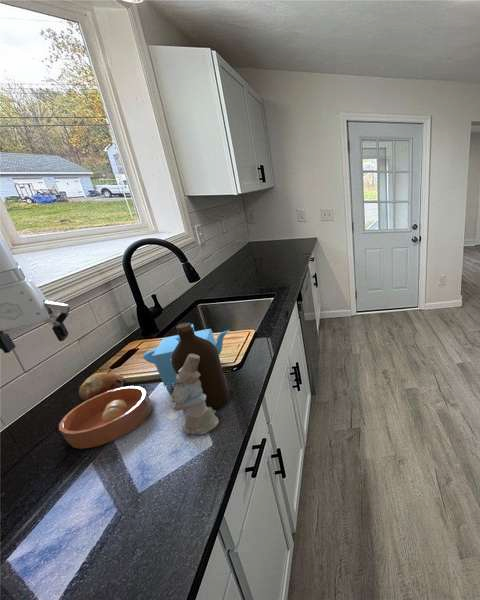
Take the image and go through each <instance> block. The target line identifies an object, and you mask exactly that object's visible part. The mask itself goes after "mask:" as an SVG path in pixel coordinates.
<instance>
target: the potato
mask: <svg viewBox="0 0 480 600" xmlns="http://www.w3.org/2000/svg"><path fill="white" fill-rule="evenodd" d="M127 407H128V406H127V403H126V402H125V401H123V400H114V401H112V402H110V403H109V404H108V405H107V406H106V408H105V410H104V412H103V414H102V417H101V419H102V421H103V423H105V424H106V423H108V422H110V421H112V420H115V419H116V418H118V417H120V416H121V415H123V414H125V413H126V411H127Z"/></svg>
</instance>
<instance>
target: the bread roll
mask: <svg viewBox="0 0 480 600" xmlns="http://www.w3.org/2000/svg"><path fill="white" fill-rule="evenodd" d="M124 377H125V376H123V375H120V374H119V373H118V374H117V373H114V372H96V373H94V374H92V375H90V376H89V377H87V378H86V379H85V380H84V381H83V382H82V383H81V385H80V386H79V389H78V395H79V398H80V399H81V400H82V401H83V402H85V401H87V400H89V399H91V398H93V397H95V396H97V395H100V394H102V393H105V392H107V391H111V390H114V389H118V388H122V387H124V384H125V383H126V380H123V379H124Z"/></svg>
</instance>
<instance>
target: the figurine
mask: <svg viewBox="0 0 480 600" xmlns="http://www.w3.org/2000/svg"><path fill="white" fill-rule="evenodd" d="M199 360H200V356H198V355H196V354H189V355H188V356H187V359H186V361H185V363H184V365H183V367H182V368H181V369H180V370H179V371H178V373H179V374H177V377H176V381H177V382H178V383H183V384H179V385H177V386H176V385H175V388H174V389H173V391H172V393H171V399H170V402H171V403H172V404H173V407H172V409H173V410H174V411H176V412H179V411H181V412H182V415H183V416H185V423H184V426H183V430H182V432H184V433H185V434H186V435H198V436H199V435H203V434H206V433H208V432H211V431H212V430H214V429H215V428H216V427H217V426H218V424H219V421H220V420H219V418H218V417H217V416H216V415H215V414H216V413H217V411H216V410H212V408H211V407H207V406H206V403H205V401H206V395H205V394H204V393H202V392H203V389H202V388H201V381H200V380H199V379H198V378H199V377H200V373H199V372H198V371H197V368H198V364H199Z"/></svg>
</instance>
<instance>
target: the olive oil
mask: <svg viewBox="0 0 480 600" xmlns="http://www.w3.org/2000/svg"><path fill="white" fill-rule="evenodd" d="M191 324H192V323H191V322H181V323H179V324H177V326H176V331H177V335H179V337H180V342H179V343H178V345H177V346H176V348H175V349H174V351H173V353H172V357H171V363H172V366H173V368H174V370H175V372H176V374H179V373H178V371H179V370H180V369H181V368H182V367H183V365H184V363H185V361H186V359H187V356H188V355H189V354H196V355H198V356H200V360H199V364H198V368H197V371H198V372H199V373H200V377H199V378H198V379H199V380H200V381H201V388H202V389H203V392H202V393H204V394H205V395H206V401H205V403H206V406H207V407H211V408H212V410H215V411H216V410H218V409H220V408H221V407H223V406H224V405H225V404H226V403H227V402H228V401H229V400H230V397H231V395H230V394H231V393H230V390H229V387H228V384H227V381H226V376H225V374H224V370H223V367H222V362H221V359H220V357H219V355H218V351H217V349H216V347H215V346H214V344H213V343H212V342H210V341H209V340H206V339H204V338H201V337H198V336H196V335H195V334H194V331H195V329H194V330H193V328H192V327H191ZM181 384H183V383H181Z"/></svg>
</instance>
